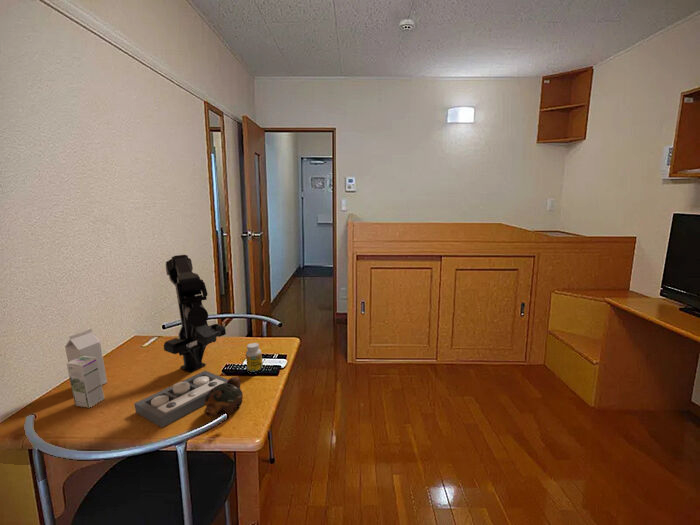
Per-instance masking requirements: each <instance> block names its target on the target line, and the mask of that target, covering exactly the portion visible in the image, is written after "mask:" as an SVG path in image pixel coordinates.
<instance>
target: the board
mask: <svg viewBox="0 0 700 525" xmlns="http://www.w3.org/2000/svg"><path fill="white" fill-rule="evenodd" d="M202 376H207V377H209V382H208V383H206V384H204V385H202V386H199V387H198V386H196V385H194V383H193V381H194V379H196V378H198V377H202ZM228 380H229V379H228V378H225V377H223V376H219V375H218V374H214V373H213V372H210V371H208V370H203V371H201V372H199V373H196V374H195V375H192V376H190V377H189V378H186V379H184V380H182V381H180V382H189V385H190V391H189V392H187V393H185V394H183V395H174V394H173V385H171V386H169V387H167V388H165V389H162V390H160V391H158V392H156V393H153V394H151V395H148V396H147V397H146V398H143V399H141V400H139V401H136V402H134V409H135V413H136V414H137V413H138V414H137V415H139V416H141V417H143V418H145V419H146V420H147V421H149V422H151V423H153V424H154V425H156V426H159V427H160V428H164V427H166V426H168V425H171V424H172V423H173V422H176V421H178V420H179V419H181V418H182V417H184V416H186V415H188V414H190V413H192V412H195V410H196V411H197V409H200V408H201V407H203V406H206V405H205V402H204V400H205V397H206V395H207V394H208V393H209V391H210V390H211V389H213V388H214V387H216V386H217V385H220V384H223V383H227V381H228ZM162 395H166V396H168V397H169V402H167V403H165V404H163V405H161V406H159V407H157V408H155V407H153V406H151V400H152V399H153V398H155V397H157V396H162Z"/></svg>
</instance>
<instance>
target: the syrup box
mask: <svg viewBox="0 0 700 525" xmlns="http://www.w3.org/2000/svg"><path fill="white" fill-rule="evenodd" d="M66 366H67V372H68V375H69V376H68V378H69V383H70V387H71V390H72V391H71V392H72V397H73V401H74V406H75V407H78V406H80V407H79V408H84V407H87V409H90V407H91V408H92V406H93V407H94V406H95V404H96V405H98V404H99V403H101V402H103V401H104V400H105V394H104V390H103V385H102V384H101V378H100V373H99V367H98V362H97V357H90V356H80V357H78V358H76V359H74V360H72V361H70V362H68V361H67V362H66ZM100 401H101V402H100ZM98 402H99V403H98ZM97 403H98V404H97Z"/></svg>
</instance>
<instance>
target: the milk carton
mask: <svg viewBox="0 0 700 525" xmlns="http://www.w3.org/2000/svg"><path fill="white" fill-rule="evenodd" d="M64 348H65V352H66V353H65V354H66V358H67V363H68V362H70V361H72V360H74V359H76V358H78V357H80V356H90V357H97V362H98V367H99V373H100V378H101V384H102V386H103V385H105V384H107V383H108V380H107V373H106V369H105V368H106V367H105V362H104V356H103V350H102V345H101V341H100V339H99V338H98V337H97V336H96V335H95V334H94V333H93V329H91V328H90V329H87V330H85V331H81V332H78V333H75V334H72V335H69V340H68V342H67V343H66V345H65V347H64Z"/></svg>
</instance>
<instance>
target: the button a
mask: <svg viewBox="0 0 700 525" xmlns="http://www.w3.org/2000/svg"><path fill="white" fill-rule="evenodd" d="M167 402H169V397H168V396H166V395H162V396H157V397H155V398H153V399H152V400H151V406H153V407H155V408H157V407H159V406H161V405H163V404H165V403H167Z"/></svg>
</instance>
